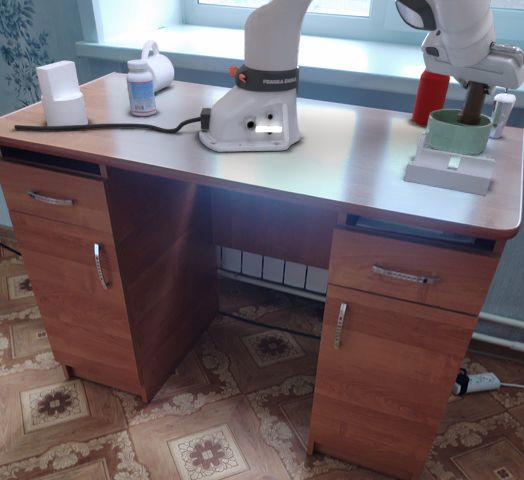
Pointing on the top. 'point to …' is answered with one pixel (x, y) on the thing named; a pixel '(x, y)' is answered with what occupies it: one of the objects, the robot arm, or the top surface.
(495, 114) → the milkshake
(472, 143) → the bowl
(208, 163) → the top surface
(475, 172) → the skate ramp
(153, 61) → the mug
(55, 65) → the white stepped block
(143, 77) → the pill bottle
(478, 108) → the pestle
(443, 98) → the beverage can
